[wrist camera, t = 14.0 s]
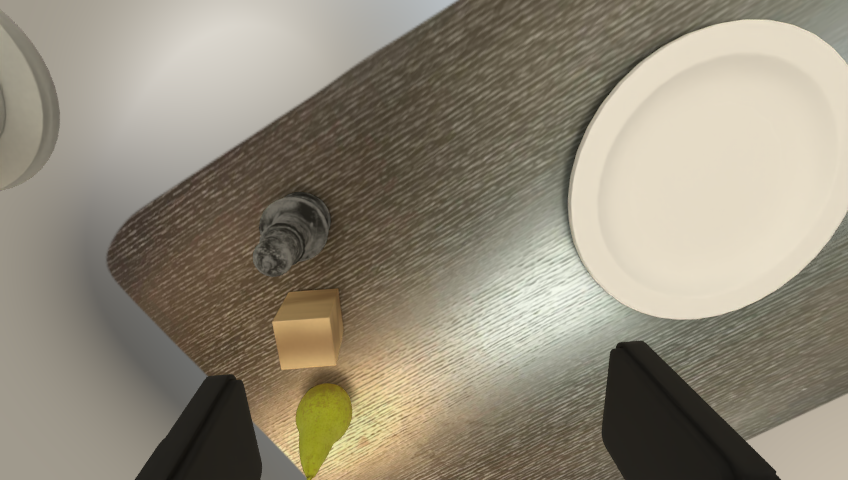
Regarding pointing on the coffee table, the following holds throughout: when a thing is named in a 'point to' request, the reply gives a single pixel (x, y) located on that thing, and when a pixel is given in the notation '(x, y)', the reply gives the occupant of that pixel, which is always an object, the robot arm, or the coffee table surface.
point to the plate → (713, 170)
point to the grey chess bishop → (291, 233)
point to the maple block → (309, 329)
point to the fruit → (321, 424)
